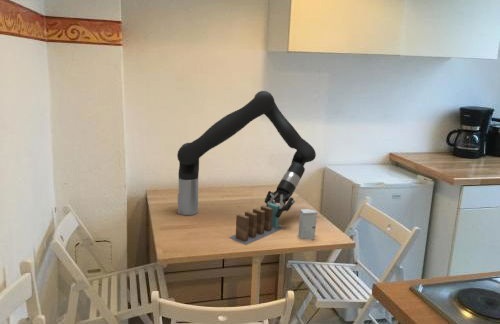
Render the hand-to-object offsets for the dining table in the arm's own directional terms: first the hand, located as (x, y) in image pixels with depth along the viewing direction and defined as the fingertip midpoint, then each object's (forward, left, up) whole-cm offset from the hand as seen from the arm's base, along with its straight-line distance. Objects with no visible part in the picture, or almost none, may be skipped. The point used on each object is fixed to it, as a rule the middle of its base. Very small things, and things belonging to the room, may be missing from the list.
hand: (270, 214), depth 185 cm
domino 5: (+1, +1, -6) cm, 6 cm away
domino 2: (-8, -10, -6) cm, 14 cm away
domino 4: (-2, -2, -6) cm, 7 cm away
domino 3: (-5, -6, -6) cm, 10 cm away
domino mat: (-5, -6, -6) cm, 10 cm away
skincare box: (+15, -9, -6) cm, 19 cm away
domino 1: (-12, -14, -6) cm, 19 cm away
